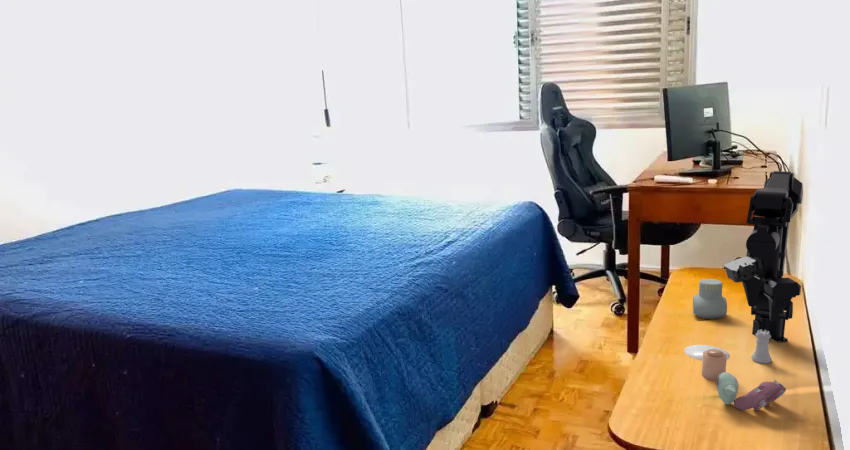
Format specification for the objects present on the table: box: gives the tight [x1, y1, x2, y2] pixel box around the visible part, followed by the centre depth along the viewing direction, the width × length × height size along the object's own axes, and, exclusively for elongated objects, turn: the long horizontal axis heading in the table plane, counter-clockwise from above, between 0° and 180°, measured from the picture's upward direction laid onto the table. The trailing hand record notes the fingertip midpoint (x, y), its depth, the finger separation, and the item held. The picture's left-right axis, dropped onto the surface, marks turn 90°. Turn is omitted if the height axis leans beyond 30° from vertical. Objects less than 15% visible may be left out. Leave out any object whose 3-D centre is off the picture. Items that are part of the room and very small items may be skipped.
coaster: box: [684, 344, 731, 362], centre depth 160 cm, size 10×10×1 cm
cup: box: [701, 349, 728, 381], centre depth 148 cm, size 5×5×7 cm
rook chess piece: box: [750, 330, 772, 364], centre depth 155 cm, size 4×4×8 cm
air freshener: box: [692, 278, 728, 320], centre depth 186 cm, size 11×8×10 cm
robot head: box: [716, 371, 739, 405], centre depth 137 cm, size 8×4×7 cm, turn 158°
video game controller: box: [733, 379, 787, 412], centre depth 135 cm, size 10×5×7 cm, turn 120°
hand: (761, 313), depth 153 cm, fingers open, 9 cm apart
